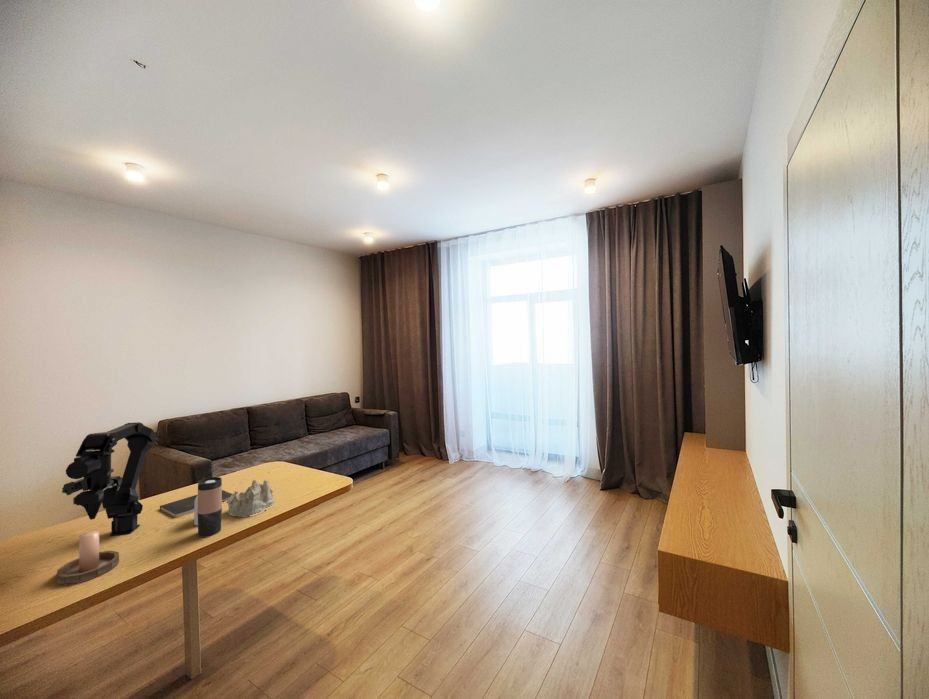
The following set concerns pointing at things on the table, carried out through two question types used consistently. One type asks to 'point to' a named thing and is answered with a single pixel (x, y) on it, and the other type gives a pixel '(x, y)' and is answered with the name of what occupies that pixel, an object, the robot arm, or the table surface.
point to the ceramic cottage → (251, 500)
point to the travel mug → (209, 506)
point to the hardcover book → (186, 505)
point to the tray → (72, 574)
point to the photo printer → (196, 511)
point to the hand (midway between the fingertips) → (99, 513)
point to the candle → (88, 551)
